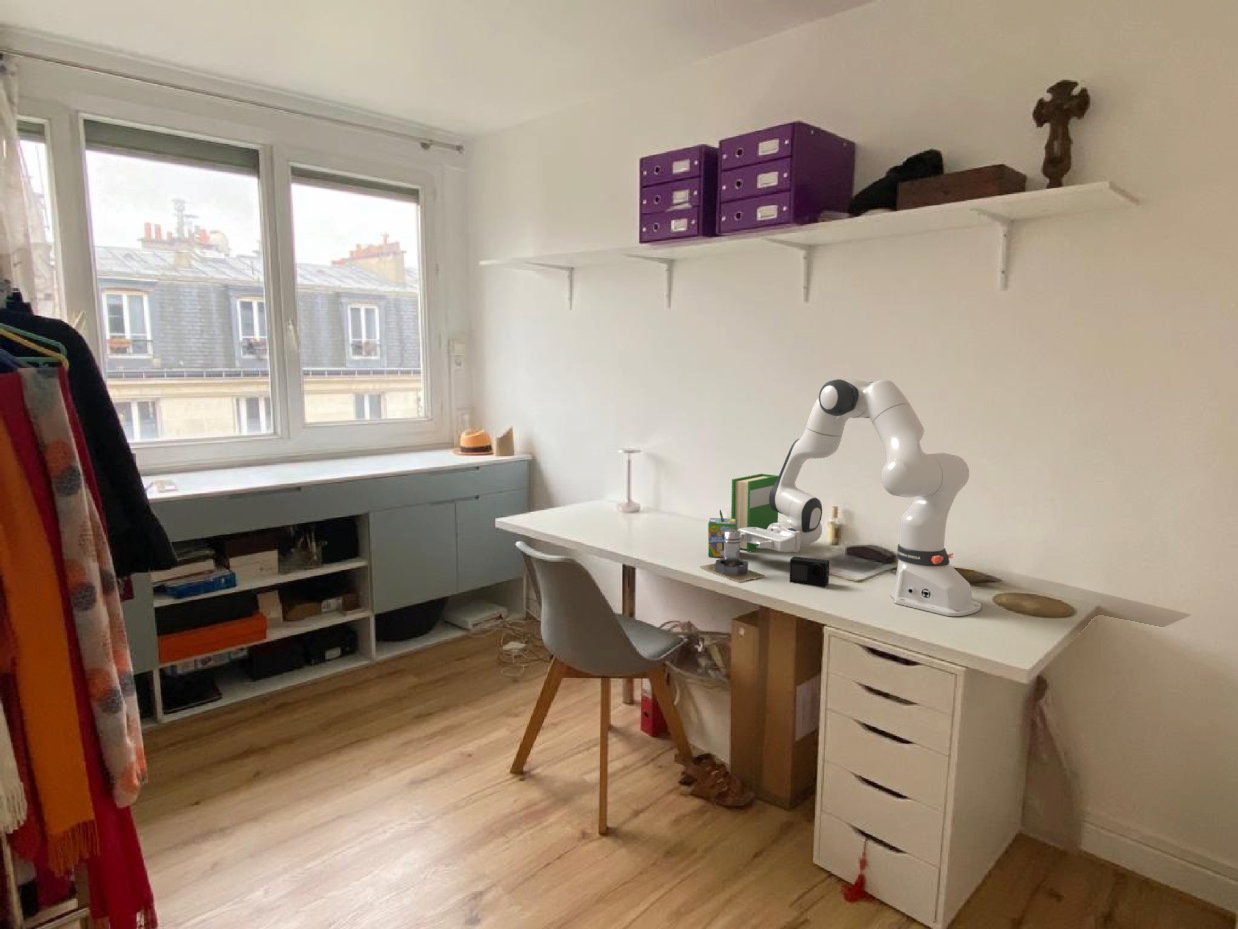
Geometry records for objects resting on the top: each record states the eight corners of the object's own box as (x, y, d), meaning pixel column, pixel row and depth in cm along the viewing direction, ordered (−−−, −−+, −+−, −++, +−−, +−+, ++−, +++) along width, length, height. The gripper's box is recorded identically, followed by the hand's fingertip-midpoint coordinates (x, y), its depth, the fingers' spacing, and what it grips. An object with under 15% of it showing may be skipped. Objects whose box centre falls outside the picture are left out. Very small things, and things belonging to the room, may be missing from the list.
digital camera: (787, 583, 211) (788, 559, 210) (792, 578, 216) (793, 555, 215) (824, 588, 206) (825, 564, 205) (828, 583, 211) (829, 560, 210)
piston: (743, 571, 221) (744, 532, 220) (730, 573, 219) (731, 534, 217) (732, 567, 225) (733, 529, 224) (720, 570, 223) (720, 531, 221)
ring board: (764, 577, 217) (764, 567, 217) (739, 582, 212) (739, 572, 212) (724, 563, 232) (724, 554, 232) (699, 568, 227) (699, 558, 226)
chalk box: (735, 558, 238) (736, 514, 236) (707, 557, 240) (708, 512, 238) (737, 551, 247) (738, 508, 245) (709, 550, 249) (710, 507, 247)
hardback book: (748, 552, 246) (750, 481, 243) (730, 548, 251) (732, 479, 248) (777, 543, 259) (779, 475, 256) (759, 539, 264) (761, 473, 261)
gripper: (756, 520, 240) (724, 525, 232) (804, 532, 223) (771, 538, 215) (756, 539, 241) (724, 545, 233) (803, 552, 224) (770, 559, 216)
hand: (747, 542), depth 224 cm, fingers open, 8 cm apart
